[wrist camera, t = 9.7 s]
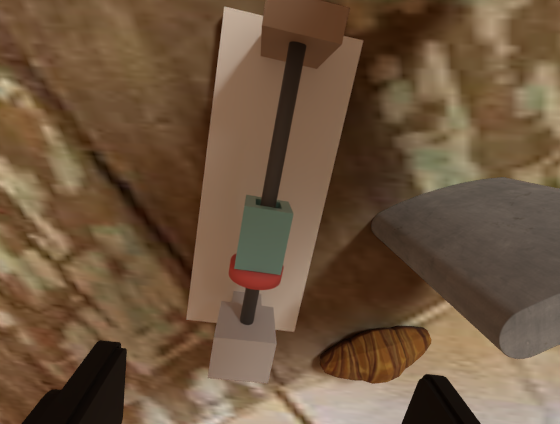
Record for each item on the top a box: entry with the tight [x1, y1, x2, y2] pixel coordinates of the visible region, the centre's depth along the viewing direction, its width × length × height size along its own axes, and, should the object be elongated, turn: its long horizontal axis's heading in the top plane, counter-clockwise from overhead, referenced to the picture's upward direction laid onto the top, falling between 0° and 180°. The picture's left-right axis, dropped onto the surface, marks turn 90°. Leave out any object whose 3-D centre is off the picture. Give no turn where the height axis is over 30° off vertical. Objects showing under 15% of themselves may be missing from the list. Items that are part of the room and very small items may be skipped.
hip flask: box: [371, 178, 560, 359], centre depth 22 cm, size 16×4×20 cm, turn 106°
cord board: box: [186, 0, 363, 383], centre depth 25 cm, size 30×12×10 cm, turn 169°
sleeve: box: [234, 195, 293, 275], centre depth 24 cm, size 5×4×4 cm
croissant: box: [320, 326, 431, 384], centre depth 34 cm, size 14×7×5 cm, turn 105°
